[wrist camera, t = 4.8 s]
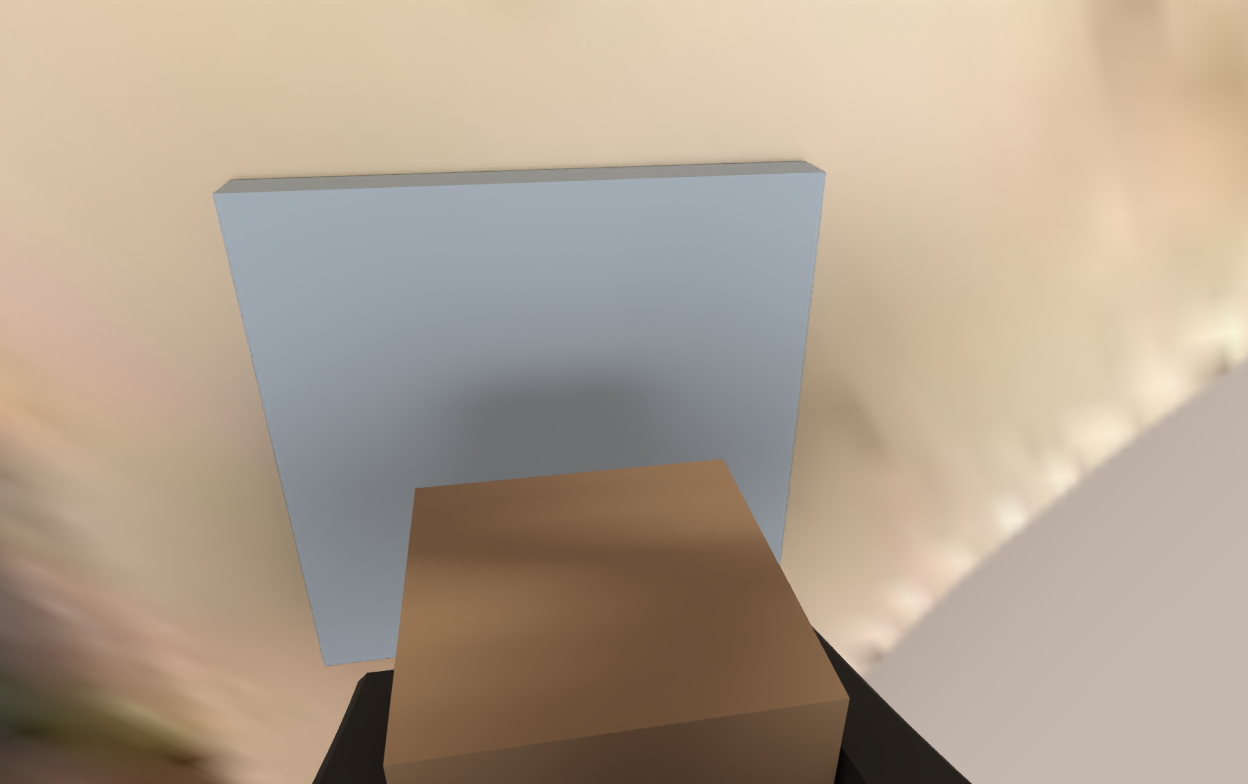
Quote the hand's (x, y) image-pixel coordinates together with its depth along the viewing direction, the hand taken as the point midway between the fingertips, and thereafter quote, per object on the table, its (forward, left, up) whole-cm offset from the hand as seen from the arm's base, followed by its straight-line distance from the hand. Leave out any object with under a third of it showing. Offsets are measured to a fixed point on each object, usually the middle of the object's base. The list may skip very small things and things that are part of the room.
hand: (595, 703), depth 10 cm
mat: (0, 0, -7) cm, 7 cm away
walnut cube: (0, 0, -2) cm, 2 cm away
